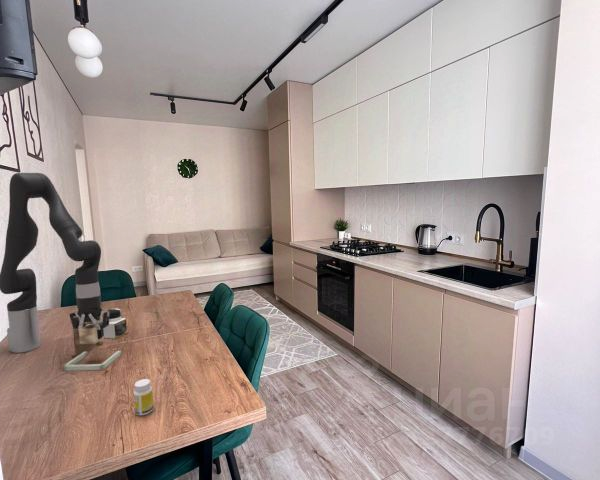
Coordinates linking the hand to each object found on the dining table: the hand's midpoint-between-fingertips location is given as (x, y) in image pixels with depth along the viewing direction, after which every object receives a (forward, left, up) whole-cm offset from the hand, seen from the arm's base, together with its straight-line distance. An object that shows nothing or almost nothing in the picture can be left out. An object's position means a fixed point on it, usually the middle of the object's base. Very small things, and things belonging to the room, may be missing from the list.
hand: (92, 338), depth 122 cm
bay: (0, 0, -9) cm, 9 cm away
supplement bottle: (+33, -31, -9) cm, 46 cm away
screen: (-9, +10, -9) cm, 16 cm away
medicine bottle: (-6, +26, -9) cm, 28 cm away
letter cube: (0, 0, -1) cm, 1 cm away
